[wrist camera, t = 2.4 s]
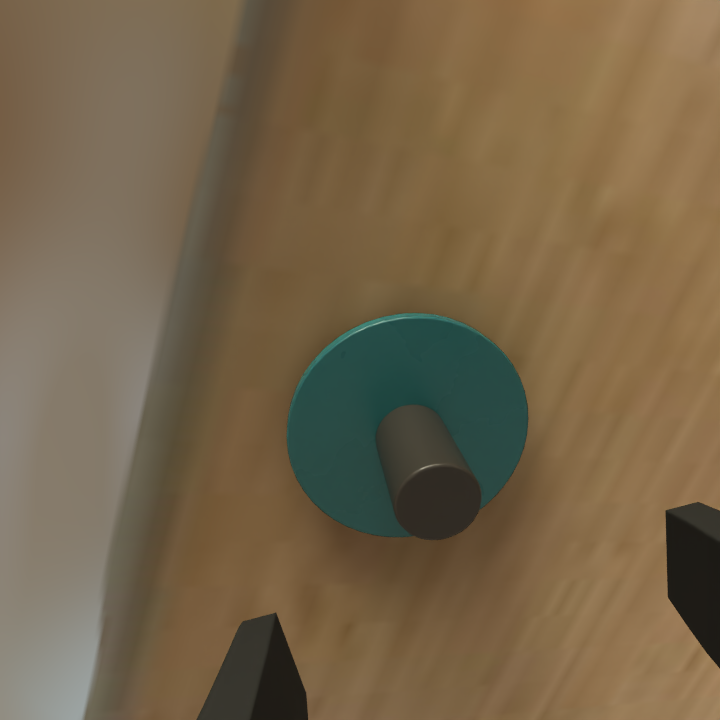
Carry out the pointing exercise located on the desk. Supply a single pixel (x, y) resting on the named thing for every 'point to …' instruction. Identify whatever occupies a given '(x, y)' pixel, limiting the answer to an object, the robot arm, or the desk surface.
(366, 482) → the tin lid
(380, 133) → the desk surface
